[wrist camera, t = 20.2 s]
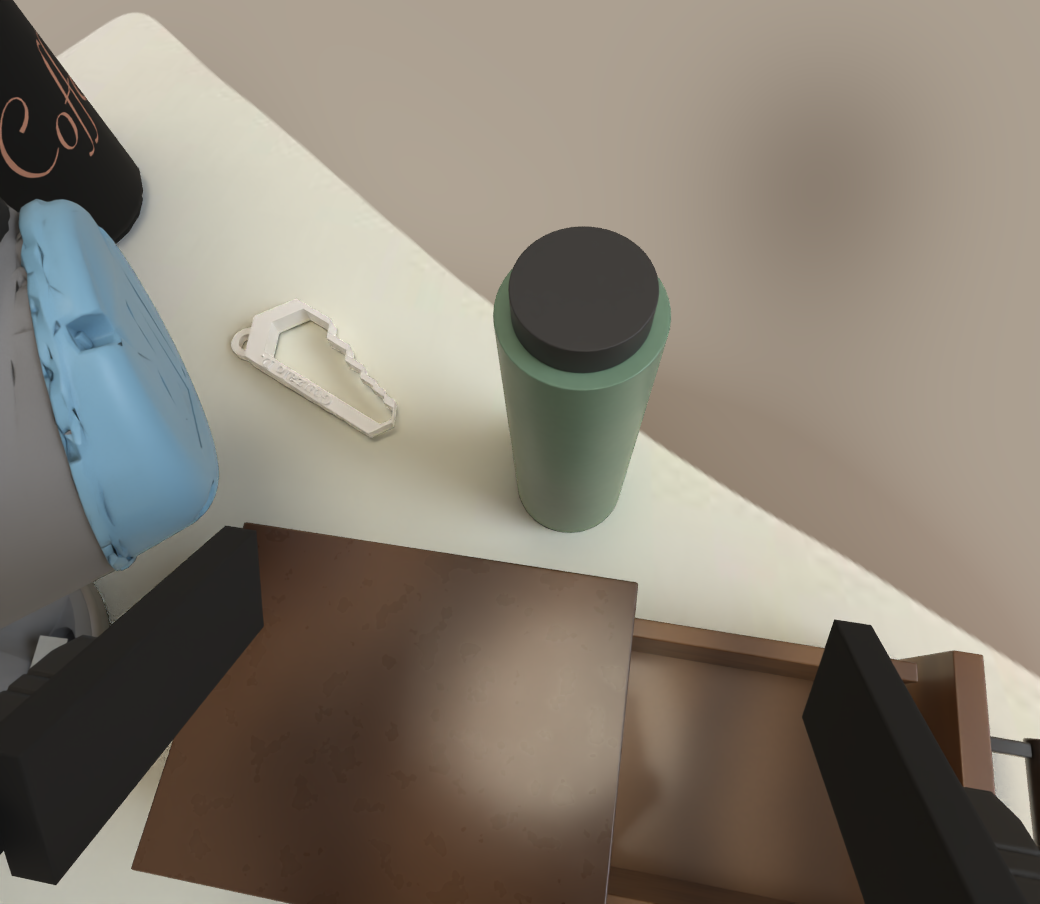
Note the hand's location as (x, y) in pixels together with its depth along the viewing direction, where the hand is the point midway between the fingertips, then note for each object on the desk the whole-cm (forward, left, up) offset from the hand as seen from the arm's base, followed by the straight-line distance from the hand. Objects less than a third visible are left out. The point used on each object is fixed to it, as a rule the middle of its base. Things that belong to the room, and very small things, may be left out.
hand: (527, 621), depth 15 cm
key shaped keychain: (-21, +10, -21) cm, 31 cm away
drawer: (+12, +1, -20) cm, 24 cm away
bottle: (-4, +10, -21) cm, 24 cm away
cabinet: (-4, -4, -21) cm, 22 cm away
